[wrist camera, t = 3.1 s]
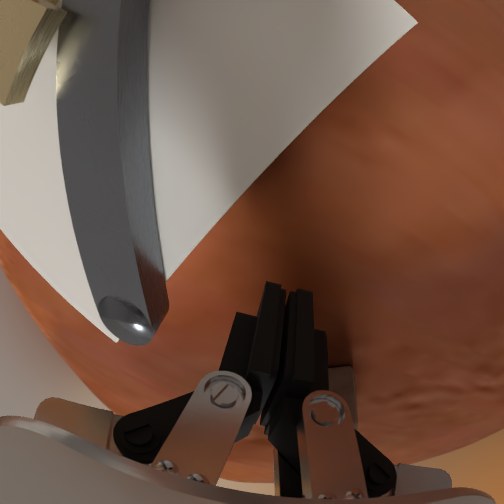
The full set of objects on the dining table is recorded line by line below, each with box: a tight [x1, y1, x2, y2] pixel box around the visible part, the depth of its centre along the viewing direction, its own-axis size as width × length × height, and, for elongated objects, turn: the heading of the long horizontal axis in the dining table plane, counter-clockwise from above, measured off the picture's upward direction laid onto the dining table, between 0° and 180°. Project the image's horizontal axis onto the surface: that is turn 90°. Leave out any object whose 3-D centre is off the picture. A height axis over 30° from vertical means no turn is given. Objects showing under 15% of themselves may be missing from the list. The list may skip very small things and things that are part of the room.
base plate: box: [0, 0, 418, 343], centre depth 11 cm, size 23×16×2 cm
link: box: [56, 0, 169, 346], centre depth 9 cm, size 22×4×2 cm, turn 179°
